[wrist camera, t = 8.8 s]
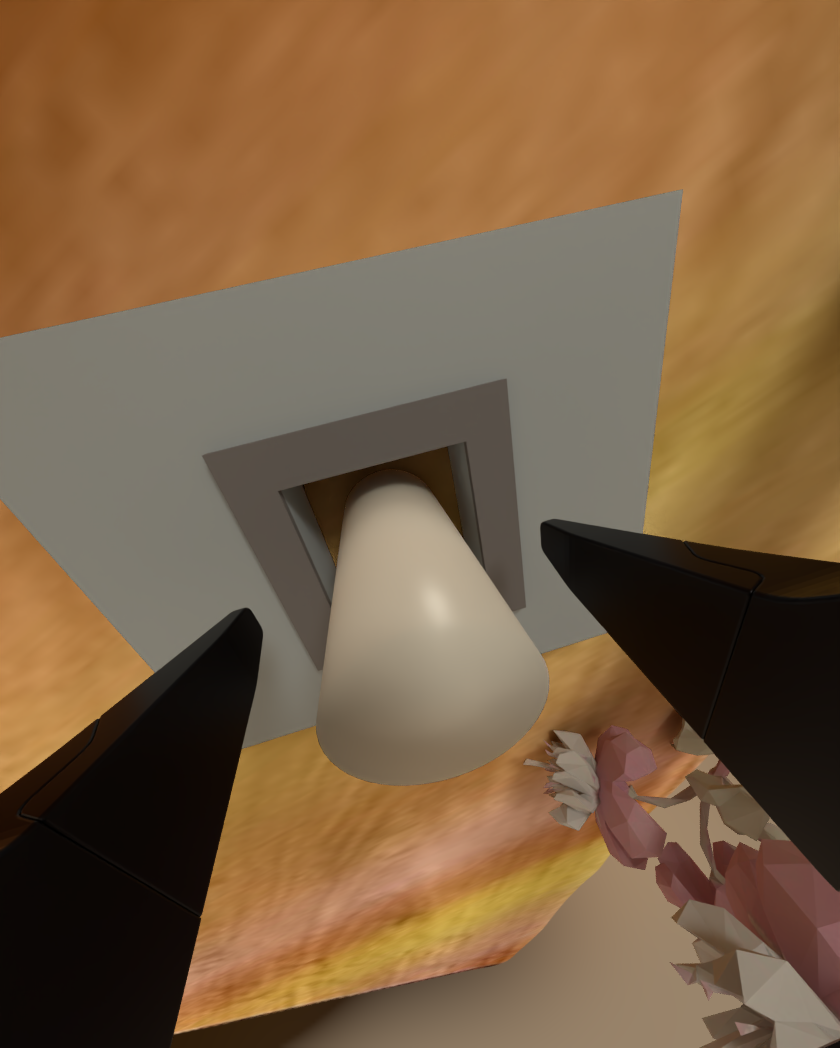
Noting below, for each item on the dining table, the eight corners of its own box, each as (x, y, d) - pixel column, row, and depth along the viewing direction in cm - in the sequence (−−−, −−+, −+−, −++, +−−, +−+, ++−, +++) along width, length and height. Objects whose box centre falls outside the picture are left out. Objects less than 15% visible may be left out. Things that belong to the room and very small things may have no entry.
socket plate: (614, 231, 10) (693, 182, 8) (596, 594, 17) (636, 629, 15) (-3, 369, 9) (-141, 363, 7) (245, 702, 16) (224, 760, 14)
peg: (426, 458, 13) (544, 589, 4) (444, 541, 14) (552, 744, 6) (330, 483, 12) (271, 672, 4) (360, 565, 14) (359, 808, 6)
